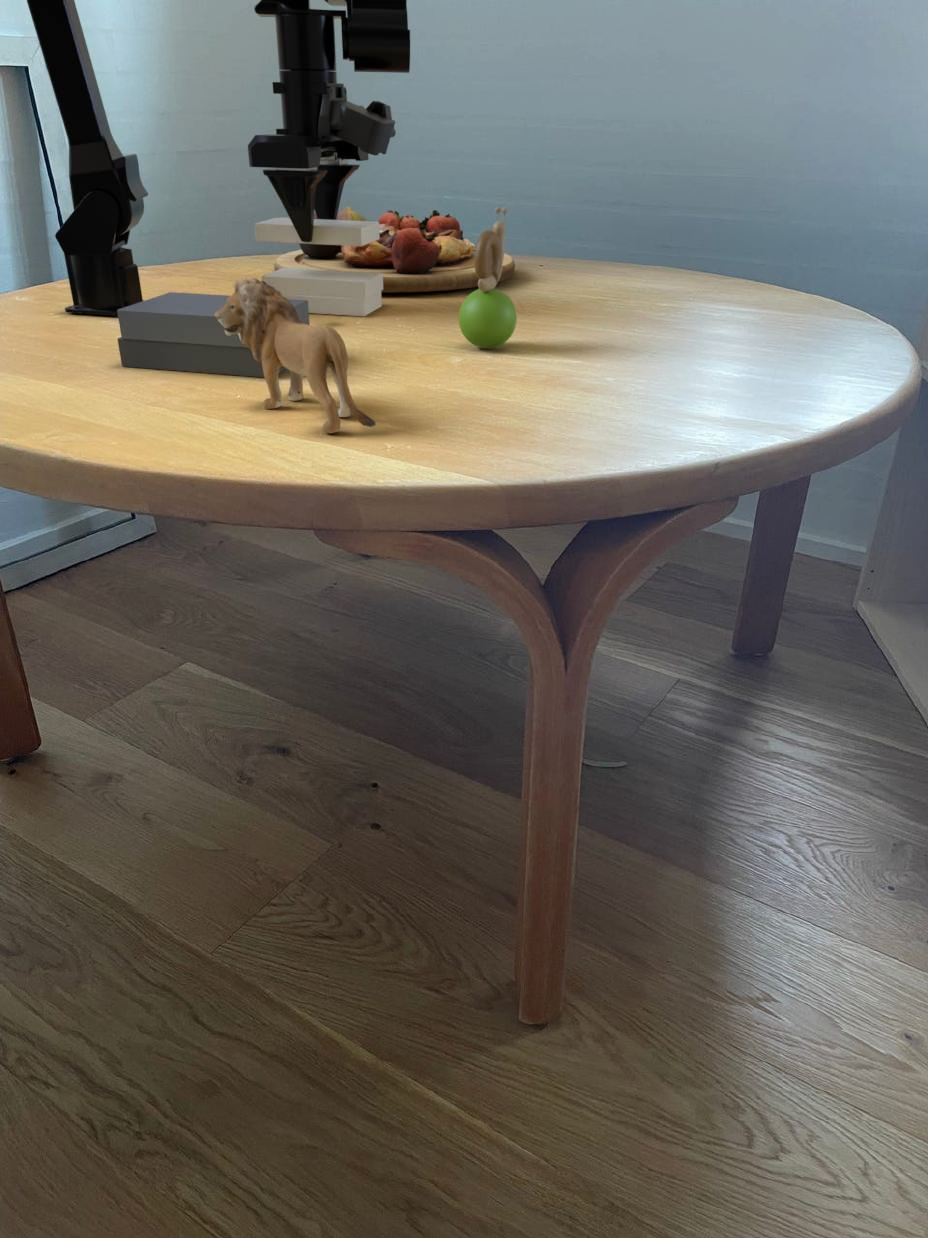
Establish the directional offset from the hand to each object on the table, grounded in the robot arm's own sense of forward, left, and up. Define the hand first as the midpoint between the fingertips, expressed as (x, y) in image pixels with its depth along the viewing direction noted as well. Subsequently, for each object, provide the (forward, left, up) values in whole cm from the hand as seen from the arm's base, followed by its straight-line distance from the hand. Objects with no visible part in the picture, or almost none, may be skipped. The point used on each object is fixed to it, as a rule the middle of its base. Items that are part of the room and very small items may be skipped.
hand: (317, 238), depth 100 cm
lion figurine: (+13, -38, -8) cm, 41 cm away
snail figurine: (+22, -13, -8) cm, 27 cm away
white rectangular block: (0, 0, 0) cm, 0 cm away
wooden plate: (+1, +24, -8) cm, 25 cm away
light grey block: (0, 0, -7) cm, 7 cm away
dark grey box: (0, -25, -7) cm, 26 cm away
